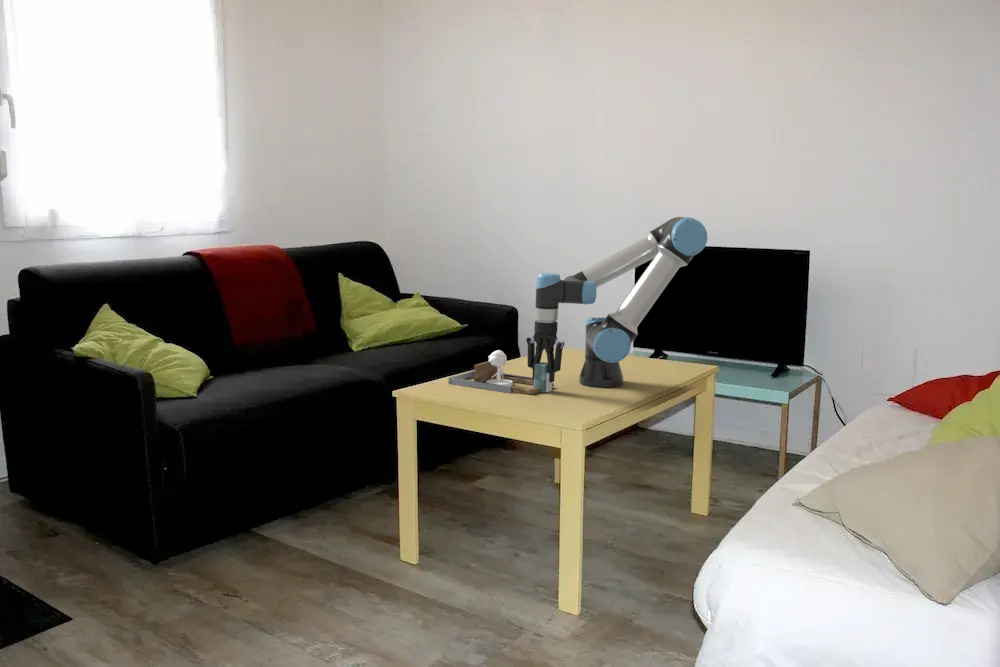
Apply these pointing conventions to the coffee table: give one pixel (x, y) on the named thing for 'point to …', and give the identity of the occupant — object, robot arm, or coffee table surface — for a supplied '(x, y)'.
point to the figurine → (498, 368)
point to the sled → (487, 371)
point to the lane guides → (501, 388)
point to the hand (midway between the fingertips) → (542, 390)
